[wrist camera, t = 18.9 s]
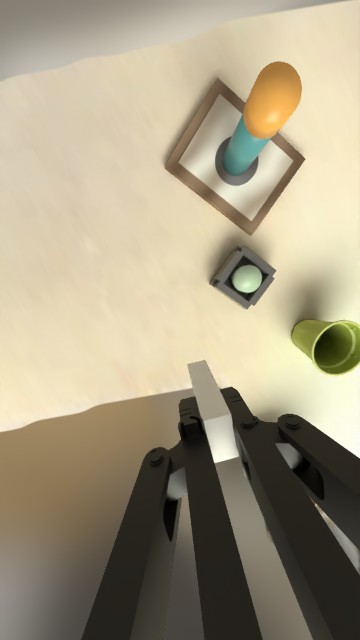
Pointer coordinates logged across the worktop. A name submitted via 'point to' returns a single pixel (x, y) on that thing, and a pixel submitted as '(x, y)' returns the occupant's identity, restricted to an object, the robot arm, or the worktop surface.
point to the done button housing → (233, 261)
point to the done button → (246, 278)
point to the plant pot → (329, 344)
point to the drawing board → (207, 166)
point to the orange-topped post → (263, 115)
